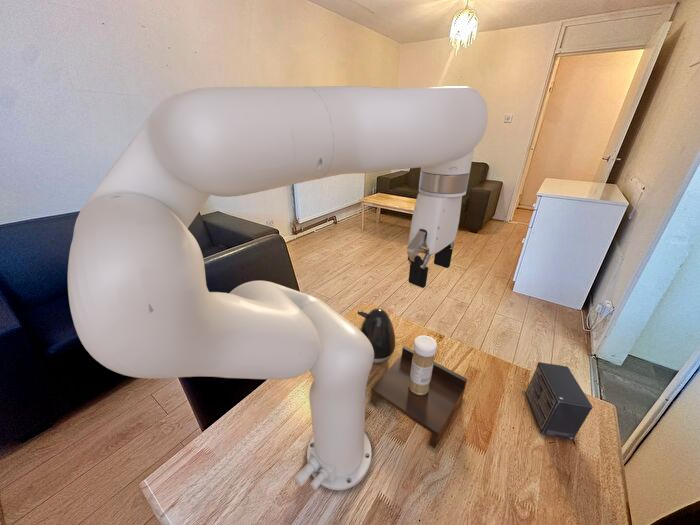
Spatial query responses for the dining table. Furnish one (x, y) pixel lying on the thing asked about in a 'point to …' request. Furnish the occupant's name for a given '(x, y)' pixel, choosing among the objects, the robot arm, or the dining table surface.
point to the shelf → (422, 409)
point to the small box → (557, 401)
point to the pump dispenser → (379, 333)
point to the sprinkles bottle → (422, 364)
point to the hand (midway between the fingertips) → (429, 274)
